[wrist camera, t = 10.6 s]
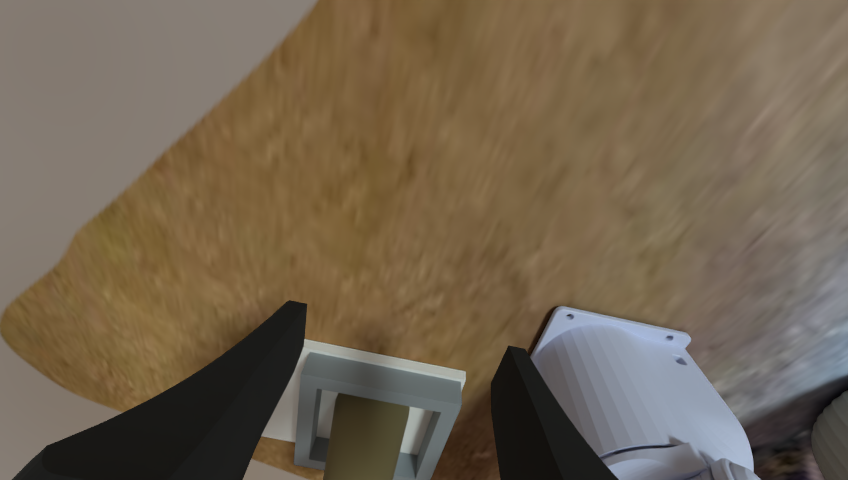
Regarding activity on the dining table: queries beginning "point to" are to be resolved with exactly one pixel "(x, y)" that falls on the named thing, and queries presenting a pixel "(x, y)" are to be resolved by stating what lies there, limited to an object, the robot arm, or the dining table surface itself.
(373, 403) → the olive knobbed tapered peg
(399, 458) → the socket board
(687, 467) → the robot arm
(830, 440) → the canister
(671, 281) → the dining table surface
